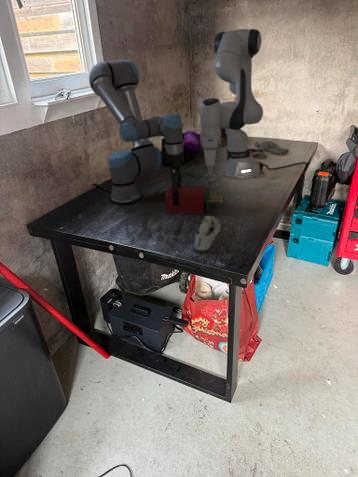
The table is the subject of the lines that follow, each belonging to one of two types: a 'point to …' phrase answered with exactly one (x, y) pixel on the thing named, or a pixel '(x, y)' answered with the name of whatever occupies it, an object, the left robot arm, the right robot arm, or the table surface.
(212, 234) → the ballet flat
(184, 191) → the dark red block
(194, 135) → the decorative orb
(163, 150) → the handbag
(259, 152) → the pair of gloves
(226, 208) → the table surface
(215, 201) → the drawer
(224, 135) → the boot
